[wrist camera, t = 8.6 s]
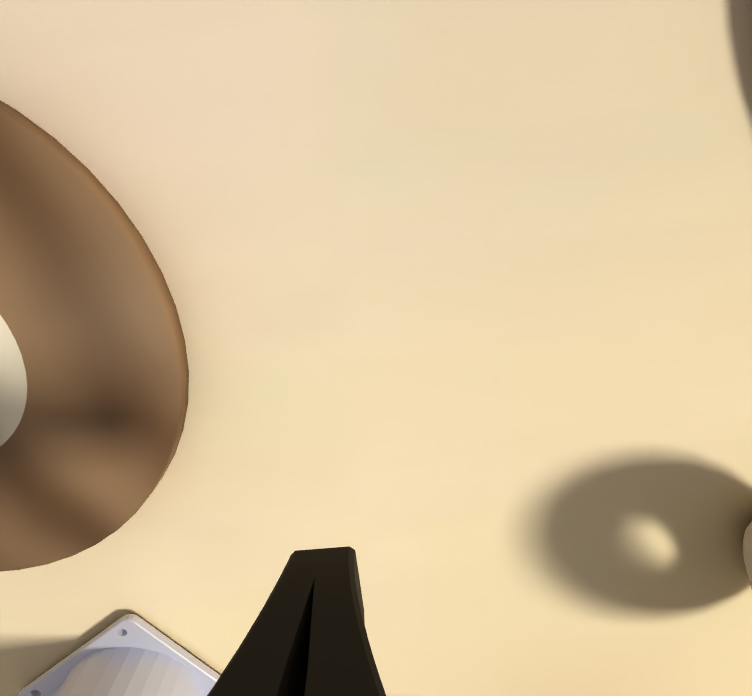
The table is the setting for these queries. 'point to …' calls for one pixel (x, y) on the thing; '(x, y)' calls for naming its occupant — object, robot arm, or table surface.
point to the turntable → (77, 355)
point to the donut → (748, 551)
